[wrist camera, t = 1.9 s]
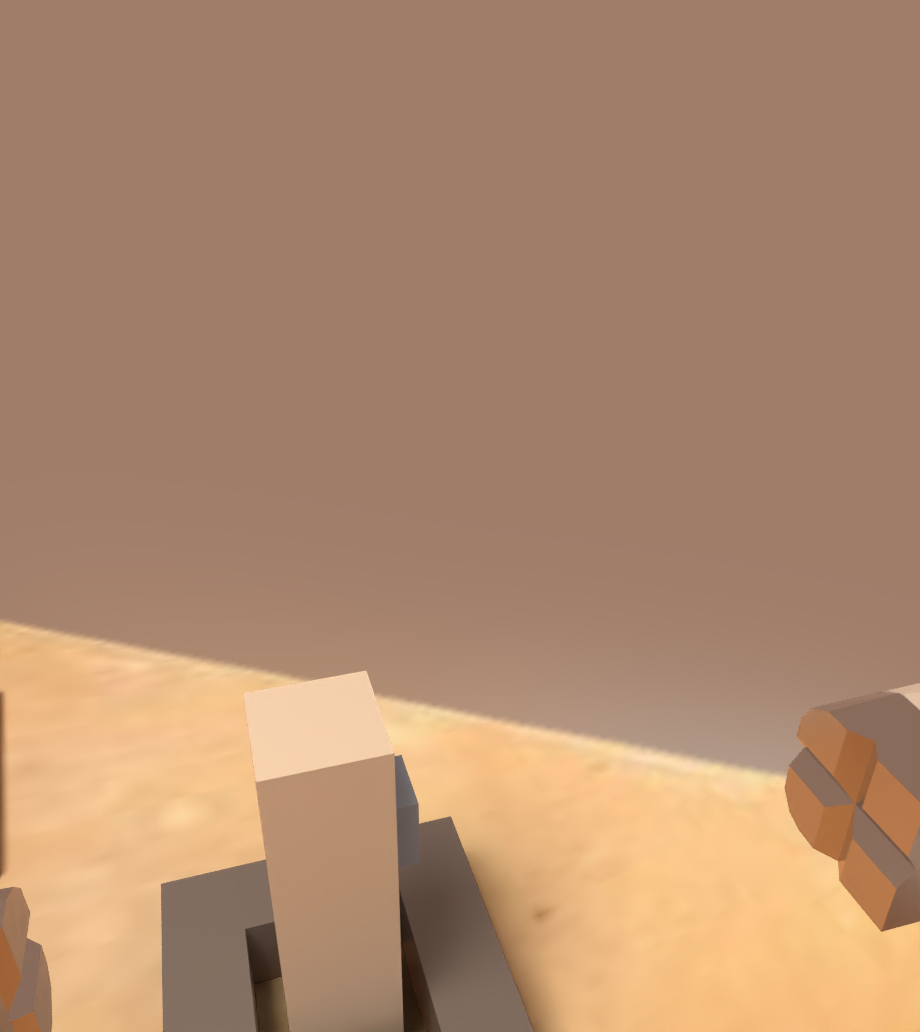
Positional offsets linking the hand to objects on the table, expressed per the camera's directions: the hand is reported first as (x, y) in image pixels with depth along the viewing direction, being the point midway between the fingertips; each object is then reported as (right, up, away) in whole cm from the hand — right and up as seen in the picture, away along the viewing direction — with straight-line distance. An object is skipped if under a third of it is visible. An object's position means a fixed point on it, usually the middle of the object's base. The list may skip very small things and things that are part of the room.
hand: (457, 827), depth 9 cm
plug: (-4, -15, +21) cm, 26 cm away
